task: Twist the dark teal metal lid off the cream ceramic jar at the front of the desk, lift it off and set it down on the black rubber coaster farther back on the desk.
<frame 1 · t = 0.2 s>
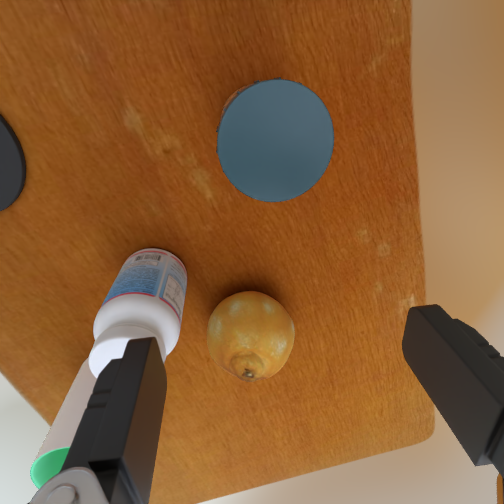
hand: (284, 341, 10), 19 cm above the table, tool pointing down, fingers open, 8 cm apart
fruit: (247, 311, 34), on the table
lid: (275, 144, 17), point 10 cm above the table, screwed on, not yet turned
mug: (127, 387, 37), on the table
pill bottle: (156, 274, 31), on the table
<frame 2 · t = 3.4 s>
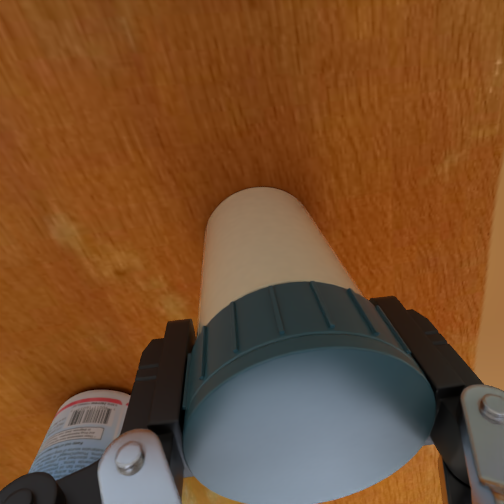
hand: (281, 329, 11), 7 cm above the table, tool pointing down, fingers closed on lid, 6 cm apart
jar: (259, 239, 17), on the table
fruit: (234, 449, 25), on the table
lid: (307, 425, 8), point 10 cm above the table, screwed on, not yet turned, touching gripper
pill bottle: (108, 413, 22), on the table
when the fingers open (4 cm above the table, at t = 6.3 s): lid stays where it is, point 10 cm above the table.
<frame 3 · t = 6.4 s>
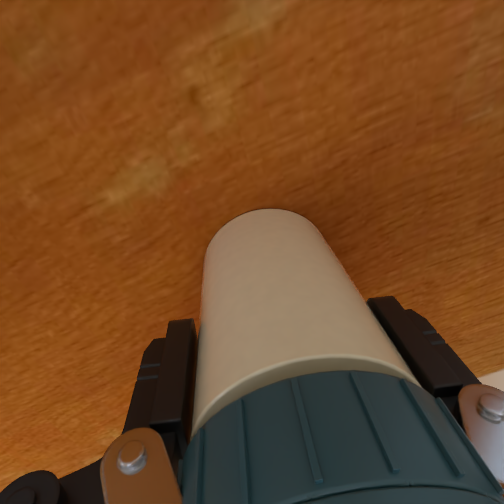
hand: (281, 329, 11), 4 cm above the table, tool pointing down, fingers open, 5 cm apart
jar: (266, 267, 15), on the table
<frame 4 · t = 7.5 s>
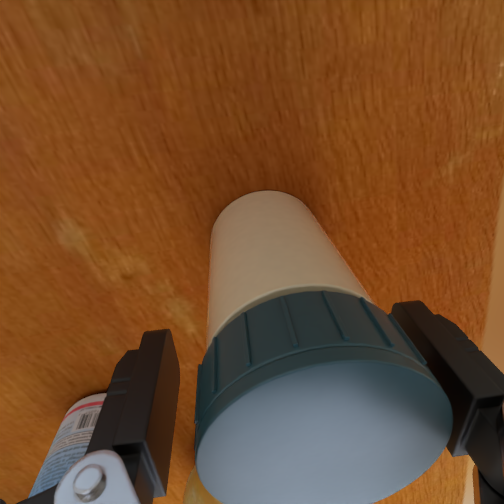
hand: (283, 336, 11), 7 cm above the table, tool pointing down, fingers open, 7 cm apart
jar: (265, 242, 17), on the table
fruit: (240, 451, 25), on the table
lid: (321, 437, 8), point 10 cm above the table, turned 80° so far, risen 0.2 cm, still on its thread
pill bottle: (115, 416, 22), on the table
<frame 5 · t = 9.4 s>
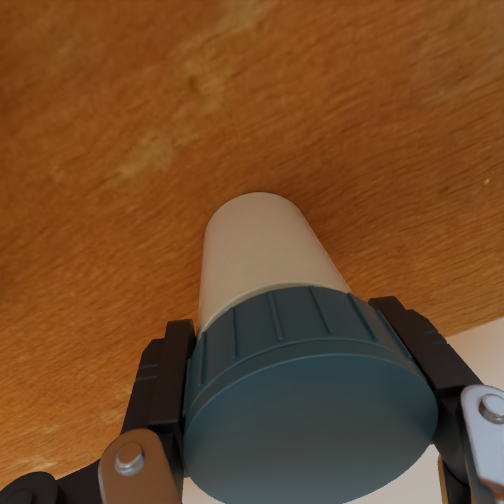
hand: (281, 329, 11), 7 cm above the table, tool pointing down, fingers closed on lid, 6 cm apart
jar: (257, 243, 17), on the table, touching gripper, lid
lid: (308, 431, 8), point 11 cm above the table, off its thread, touching gripper, jar
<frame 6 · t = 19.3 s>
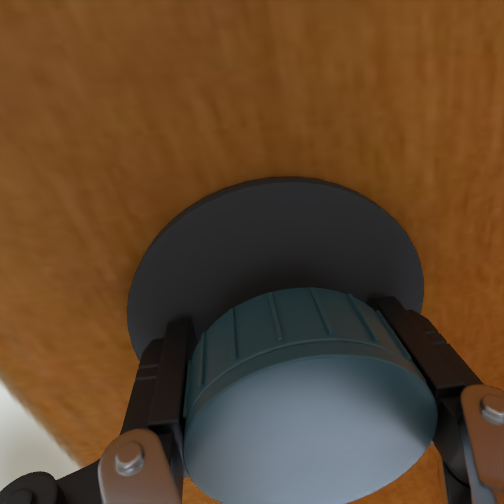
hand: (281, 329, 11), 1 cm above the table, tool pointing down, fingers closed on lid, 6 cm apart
lid: (308, 432, 8), point 4 cm above the table, off its thread, touching gripper
coaster: (277, 315, 12), on the table
when the fingers open (2 cm above the table, at t = 29.2 s): lid drops 3 cm, resting on coaster.
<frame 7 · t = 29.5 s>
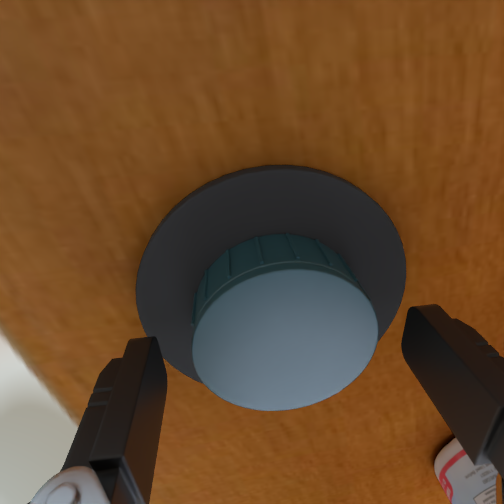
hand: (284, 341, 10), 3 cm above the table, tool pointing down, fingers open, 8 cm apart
lid: (284, 340, 10), point 2 cm above the table, off its thread, touching coaster
pill bottle: (478, 445, 20), on the table
coaster: (272, 294, 13), on the table
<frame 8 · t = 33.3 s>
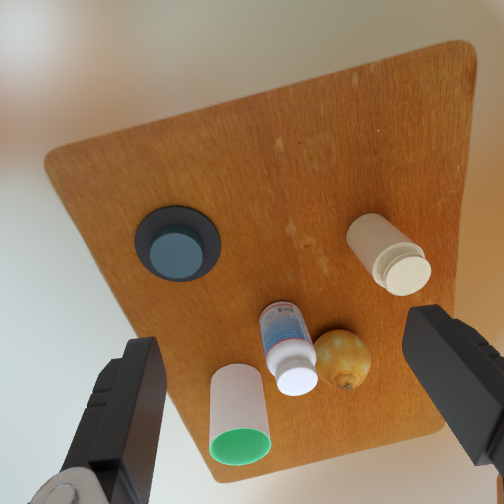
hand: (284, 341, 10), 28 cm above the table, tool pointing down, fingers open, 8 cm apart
jar: (367, 233, 41), on the table
fruit: (333, 340, 50), on the table
lid: (176, 255, 37), point 2 cm above the table, off its thread, touching coaster
mug: (239, 388, 53), on the table
pill bottle: (280, 316, 46), on the table
coaster: (178, 244, 39), on the table
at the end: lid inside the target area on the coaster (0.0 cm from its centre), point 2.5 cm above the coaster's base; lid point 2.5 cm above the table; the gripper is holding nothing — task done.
